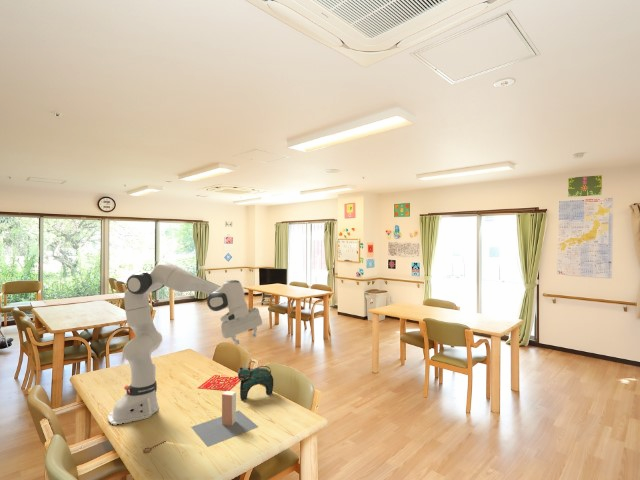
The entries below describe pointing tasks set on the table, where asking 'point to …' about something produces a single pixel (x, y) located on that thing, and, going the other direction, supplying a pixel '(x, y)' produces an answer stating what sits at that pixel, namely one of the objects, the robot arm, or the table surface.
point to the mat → (222, 429)
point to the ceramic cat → (254, 379)
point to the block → (228, 408)
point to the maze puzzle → (220, 383)
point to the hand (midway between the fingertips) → (246, 340)
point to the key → (153, 447)
